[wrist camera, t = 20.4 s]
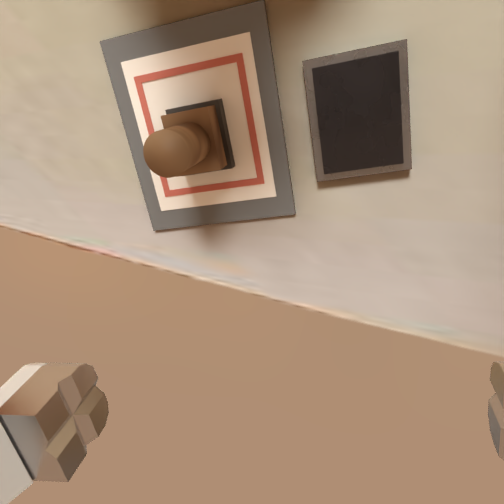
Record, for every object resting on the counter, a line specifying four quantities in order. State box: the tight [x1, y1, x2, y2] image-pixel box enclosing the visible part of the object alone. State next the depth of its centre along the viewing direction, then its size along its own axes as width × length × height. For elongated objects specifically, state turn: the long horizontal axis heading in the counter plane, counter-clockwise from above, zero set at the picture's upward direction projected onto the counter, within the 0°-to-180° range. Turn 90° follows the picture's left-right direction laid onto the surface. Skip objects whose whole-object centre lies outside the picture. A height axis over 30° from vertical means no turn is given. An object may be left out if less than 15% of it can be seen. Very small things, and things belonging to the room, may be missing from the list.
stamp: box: [143, 99, 235, 178], centre depth 33 cm, size 6×5×9 cm
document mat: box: [100, 0, 296, 231], centre depth 37 cm, size 18×15×1 cm
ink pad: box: [303, 39, 412, 182], centre depth 34 cm, size 10×8×2 cm
